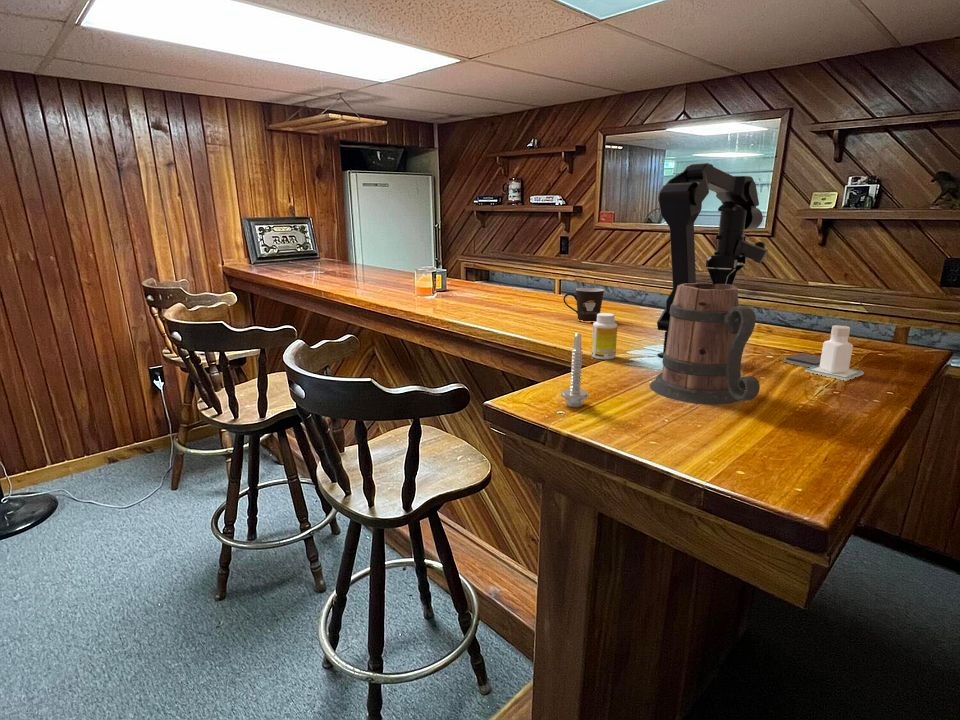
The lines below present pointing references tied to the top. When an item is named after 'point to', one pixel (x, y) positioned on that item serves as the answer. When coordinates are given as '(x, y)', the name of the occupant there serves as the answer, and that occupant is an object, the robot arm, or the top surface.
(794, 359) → the pad
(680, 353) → the tankard
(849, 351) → the pepper shaker
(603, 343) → the supplement bottle
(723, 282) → the robot arm
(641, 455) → the top surface
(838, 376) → the print card
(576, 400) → the screw
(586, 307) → the coffee mug
